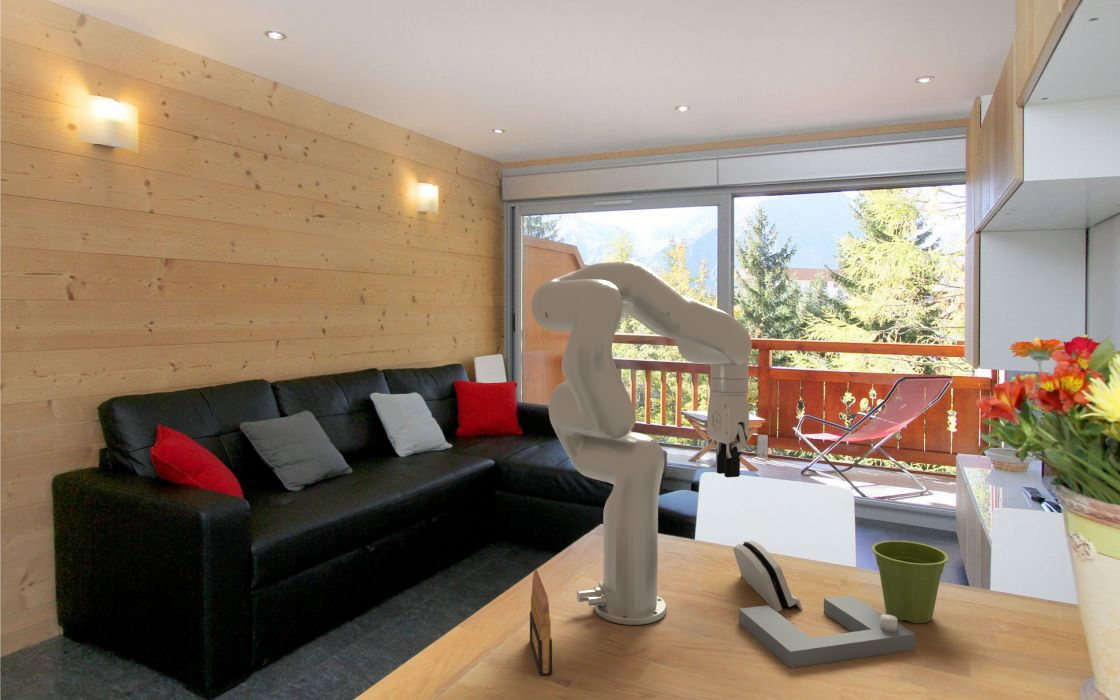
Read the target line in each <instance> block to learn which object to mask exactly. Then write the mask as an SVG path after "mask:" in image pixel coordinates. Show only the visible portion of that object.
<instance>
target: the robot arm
mask: <svg viewBox="0 0 1120 700" xmlns="http://www.w3.org/2000/svg"><path fill="white" fill-rule="evenodd" d="M530 306H531V307H530V308H531V314H532V317H533V318H534V320H535V323H537V324H538V325H539V326H540V327H541V328H543V329H545V330H547V331H552V332H570V333H569V338H568V340H567V343H566V346H565V348H564V351H563V355H562V359H561V372H562V374H563V376H564V380H565V381H563V382H561V383H559V384H557V386H556V387H555V388H554V389H553V390H552V392H551V394H550V397H549V401H548V415H549V416H548V417H549V421H550V424H551V427H552V428H553V429H554V432H555V434H556V437H558V440H559V442H560V444H561V446H562V448H563V449H564V451H565V453H566V455H567V458H569V461H570V462H571V465H572V466H573V467H574V468H575V470H576V471H577V472H579V474H580V475H583V476H584V477H587V478H590V479H593V480H598V481H601V482H606V483H609V484H612V485H613V488H612V490H611V492H610V495H609V496H608V498H607V499H606V501H605V503H604V504H605V505H604V508H603V515H602V516H603V517H602V518H603V521H602V522H603V579H602V580H599V581H598V585H597V586H594V587H593V589H579V590H577V591H576V599H577V603H583V602H587V605H588V606H589V607H592V606H594V610H595V612H596V614H597V615H598V616H600V617H601V618H602V619H604V620H606V621H609V622H611V623H615V624H620V625H621V624H622V625H626V626H627V625H629V626H635V625H636V626H638V625H639V626H640V625H646V624H651V623H655V622H658V621H659V620H661V619H662V618H663V617H664V616H665V615H666V613H667V603H666V602H665V600H664V599H663V598H662V597H660V596H659V595H658V573H659V572H658V570H659V569H658V568H659V567H658V566H659V565H658V563H659V562H658V560H659V559H658V558H659V557H658V556H659V555H658V553H659V551H658V550H659V549H658V548H659V547H658V545H659V544H658V543H659V542H658V541H659V536H658V535H659V534H658V533H659V532H658V531H659V520H658V519H659V496H660V490H661V489H660V488H661V482H662V477H663V473H664V469H665V468H664V467H665V453H664V450H663V448H662V446H661V445H660V444H659V442H658V441H657V440H656V439H655V438H653V437H651V436H649V435H646V434H644V433H640V432H637V431H636V432H635V431H632V430H633V429H634V427H635V424H636V412H635V407H634V405H633V402H632V400H631V397H630V395H629V393H628V391H627V388H626V386H625V385H624V382H623V380H622V378H621V375H620V374H619V371H618V368H617V367H616V363H615V360H614V357H613V343H614V339H615V334H616V332H617V328H618V325H619V323H620V319H621V316H622V312H624V313H626V314H627V315H629V316H630V317H631V318H633V319H635V320H636V321H637V322H639V323H641V324H642V325H643V326H645V328H647V329H649V330H650V331H651V332H652V333H654V334H656V335H659V336H661V337H665V338H668V339H671V340H677V350H678V353H679V354H680V356H681V357H682V358H683V359H684V360H686V361H687V362H689V363H694V364H700V365H701V364H702V365H710V392H709V393H710V394H709V397H708V398H709V399H708V407H707V416H706V419H707V420H706V435H707V437H708V438H710V439H711V440H712V441H713V442H714V445H715V453H716V473H717V474H718V475H723V474H724V475H723V476H724V477H725V478H738V477H740V476H741V475H740V474H741V472H740V471H741V458H742V453H743V452H744V451H746V450H747V449H748V446H747V442H748V441H749V438H750V413H749V411H750V410H749V399H748V395H749V357H750V355H751V352H752V347H753V346H752V340H751V337H750V336H751V335H750V333H749V330H748V329H747V328H746V327H745V326H743V324H742V323H740V322H739V321H738V320H737V319H736V318H734V317H733V316H732V315H730V314H729V313H727V312H725V311H724V310H721V309H719V308H717V307H714V306H711V305H709V304H706V303H703V302H701V301H699V300H696V299H693V298H690V297H688V296H685V295H682V293H680V292H679V291H677V290H676V289H675V288H674V287H672V286H671V285H670V284H669V283H668V282H666V281H665V280H664V279H663V278H662V277H660V276H659V275H657V273H655V272H654V271H652V270H651V269H650V268H649V267H648V266H646V265H645V264H643V263H641V262H638V261H634V260H624V261H623V260H622V261H612V262H611V261H610V262H609V261H608V262H599V263H595V264H594V263H593V264H590V265H587V266H584V267H582V268H579V269H577V270H576V269H575V270H574V271H571V272H569V273H566V274H564V275H561V276H557V277H555V278H552V279H550V280H548V281H545V282H543V283H542V284H541V285H540V286H539V287H538V288H537V289H536V290H535V291H534V293H533V296H532V298H531V303H530Z"/></svg>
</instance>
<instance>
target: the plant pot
mask: <svg viewBox="0 0 1120 700" xmlns="http://www.w3.org/2000/svg"><path fill="white" fill-rule="evenodd" d="M871 551H872V553H873V554H874V555H875V559H876V564H877V567H878V571H879V576H880V577H879V578H880V583H881V589H882V590H881V591H882V596H883V602H884V608H885V609H884V610H885V611H886V614H888V615H893V616H895V617H896V618H897V621H907V622H910V623H913V624H923V623H929V622H930V621H931V620H932V619H933V618H934V617H933V616H934V611H935V606H936V601H937V596H938V591H939V587H940V586H939V585H940V581H941V577H942V576H941V575H942V574H943V571H944V567H945V564H946V563H948V561H949V555H948V554H947V553H946V552H945V551H943V550H941V549H940V548H937V547H935V546H932V545H928V544H924V543H920V542H913V541H907V540H884V541H879V542H876V543H874V544H873V545H872V546H871Z"/></svg>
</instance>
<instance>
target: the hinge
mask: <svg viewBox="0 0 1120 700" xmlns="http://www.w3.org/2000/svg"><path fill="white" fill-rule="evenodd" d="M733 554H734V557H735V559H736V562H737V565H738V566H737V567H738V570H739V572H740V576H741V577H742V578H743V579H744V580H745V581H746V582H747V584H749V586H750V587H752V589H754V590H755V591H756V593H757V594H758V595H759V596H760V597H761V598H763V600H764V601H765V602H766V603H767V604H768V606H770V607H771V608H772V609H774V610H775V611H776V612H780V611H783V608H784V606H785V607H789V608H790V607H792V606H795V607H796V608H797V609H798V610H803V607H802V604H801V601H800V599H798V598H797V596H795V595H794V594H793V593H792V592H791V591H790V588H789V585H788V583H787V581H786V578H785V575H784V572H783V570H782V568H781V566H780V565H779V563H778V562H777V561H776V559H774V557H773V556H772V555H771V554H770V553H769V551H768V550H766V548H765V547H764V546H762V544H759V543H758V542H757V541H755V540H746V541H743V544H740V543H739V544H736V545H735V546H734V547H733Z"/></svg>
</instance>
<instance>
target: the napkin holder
mask: <svg viewBox="0 0 1120 700" xmlns="http://www.w3.org/2000/svg"><path fill="white" fill-rule="evenodd" d="M543 584H544V583H543V582H542V579H541V577H540V575H539V572H538V569H535V570H534V572H533V574H532V587H531V595H530V597H531V598H530V611H529V644H530V647H531V650H532V654H533V657H534V661H535V665H536V668H537V671H538V675H539V676H548V675H549V676H550V675H552V674H553V639H552V636H551V635H552V634H551V633H552V632H551V631H552V630H551V617H550V602H549V598H548V597H549V596H548V594H547V592H546V590H545V587H544V585H543Z"/></svg>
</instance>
